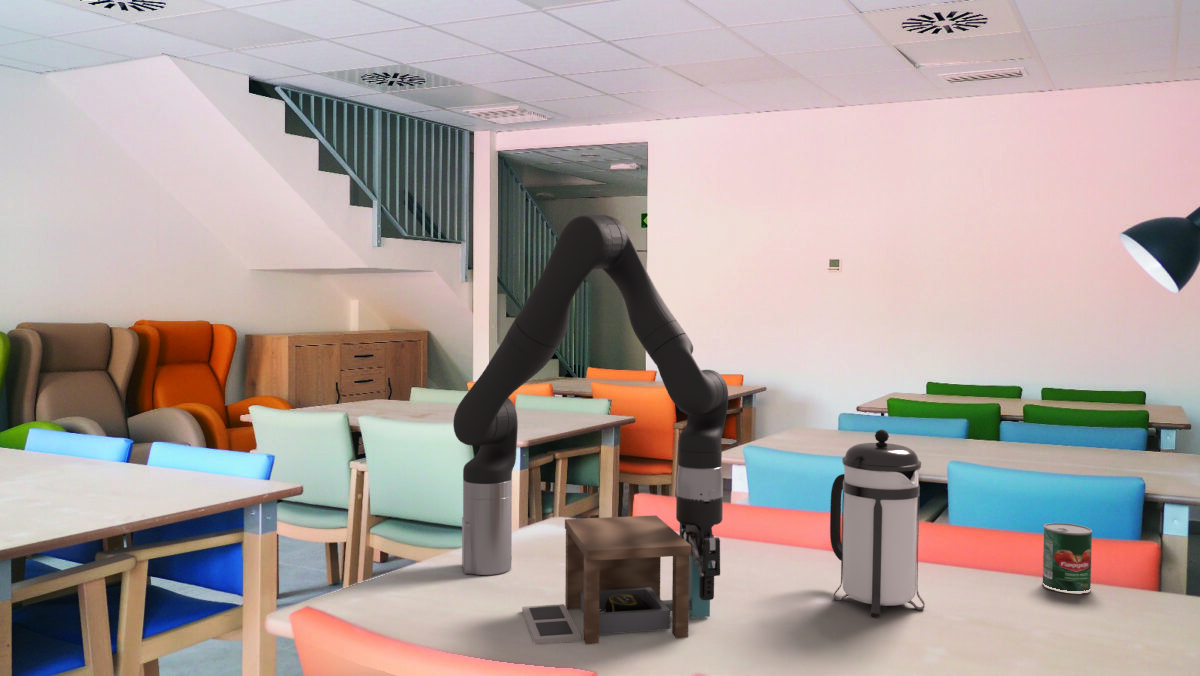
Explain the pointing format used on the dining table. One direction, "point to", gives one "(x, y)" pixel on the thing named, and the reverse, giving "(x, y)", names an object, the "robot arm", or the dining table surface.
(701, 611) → the slider
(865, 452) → the coffee press
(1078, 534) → the canned tomato
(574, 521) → the small wooden table
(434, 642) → the dining table surface
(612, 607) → the tape measure
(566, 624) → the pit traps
